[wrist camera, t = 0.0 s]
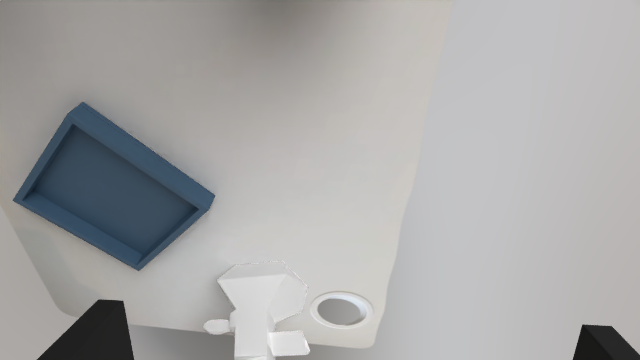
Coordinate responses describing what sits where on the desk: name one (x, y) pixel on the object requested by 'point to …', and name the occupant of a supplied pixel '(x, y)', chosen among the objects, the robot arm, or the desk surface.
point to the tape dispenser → (262, 310)
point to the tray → (111, 189)
